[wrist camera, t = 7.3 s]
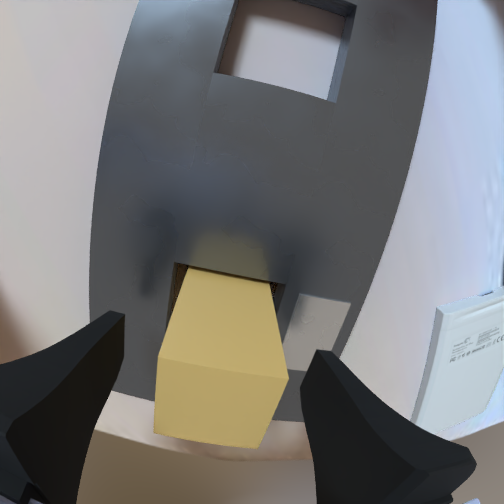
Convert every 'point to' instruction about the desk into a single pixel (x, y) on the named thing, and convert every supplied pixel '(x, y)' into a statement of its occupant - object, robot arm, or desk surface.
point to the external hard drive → (462, 362)
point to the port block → (253, 175)
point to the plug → (220, 361)
